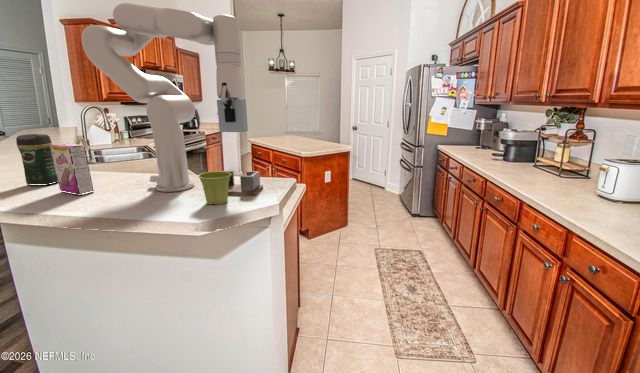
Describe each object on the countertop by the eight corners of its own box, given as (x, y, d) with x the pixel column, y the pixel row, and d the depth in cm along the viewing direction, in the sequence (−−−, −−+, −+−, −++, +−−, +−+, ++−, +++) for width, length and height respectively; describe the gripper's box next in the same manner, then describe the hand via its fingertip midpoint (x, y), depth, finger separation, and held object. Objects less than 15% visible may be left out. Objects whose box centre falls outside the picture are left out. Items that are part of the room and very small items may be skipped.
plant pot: (224, 195, 106) (222, 169, 104) (238, 202, 99) (236, 174, 97) (196, 201, 100) (193, 174, 98) (209, 209, 93) (206, 180, 91)
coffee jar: (65, 181, 125) (54, 132, 120) (47, 187, 118) (35, 135, 113) (41, 181, 126) (30, 132, 121) (22, 186, 118) (9, 135, 113)
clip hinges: (214, 190, 107) (212, 175, 106) (223, 184, 115) (221, 170, 113) (253, 191, 106) (252, 176, 105) (260, 185, 113) (259, 171, 112)
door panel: (219, 132, 104) (216, 99, 101) (224, 130, 108) (221, 99, 105) (244, 132, 103) (241, 99, 100) (247, 130, 107) (245, 99, 104)
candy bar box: (59, 192, 110) (48, 144, 106) (75, 189, 114) (65, 142, 110) (79, 196, 106) (68, 146, 101) (95, 192, 110) (85, 144, 106)
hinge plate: (211, 194, 107) (211, 191, 107) (221, 187, 116) (221, 184, 115) (255, 195, 106) (255, 192, 105) (263, 188, 114) (262, 184, 114)
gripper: (226, 63, 108) (231, 119, 113) (204, 57, 92) (211, 123, 97) (248, 63, 107) (252, 119, 112) (230, 57, 91) (235, 123, 96)
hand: (233, 120), depth 104 cm, fingers closed on door panel, 4 cm apart
